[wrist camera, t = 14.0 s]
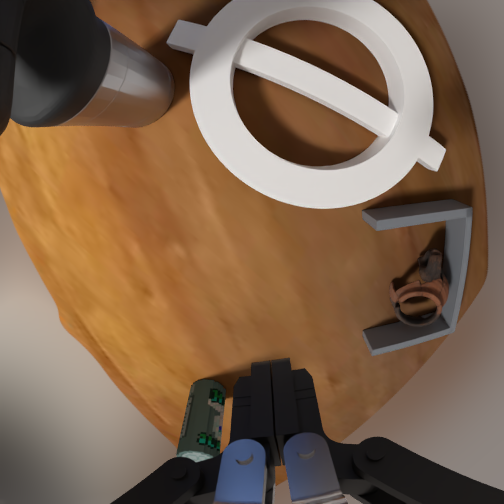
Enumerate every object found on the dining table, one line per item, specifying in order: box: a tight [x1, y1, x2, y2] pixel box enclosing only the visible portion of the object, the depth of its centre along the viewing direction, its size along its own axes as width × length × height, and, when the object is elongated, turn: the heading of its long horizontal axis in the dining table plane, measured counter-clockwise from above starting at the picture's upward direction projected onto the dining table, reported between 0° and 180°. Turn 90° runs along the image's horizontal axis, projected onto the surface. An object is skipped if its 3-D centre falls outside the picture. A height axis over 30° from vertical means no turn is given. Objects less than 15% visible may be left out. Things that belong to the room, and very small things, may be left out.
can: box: [176, 379, 226, 462], centre depth 41 cm, size 6×6×15 cm
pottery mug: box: [389, 248, 449, 327], centre depth 37 cm, size 12×9×8 cm
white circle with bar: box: [166, 0, 446, 209], centre depth 29 cm, size 28×28×5 cm
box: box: [362, 199, 472, 356], centre depth 37 cm, size 15×20×5 cm
